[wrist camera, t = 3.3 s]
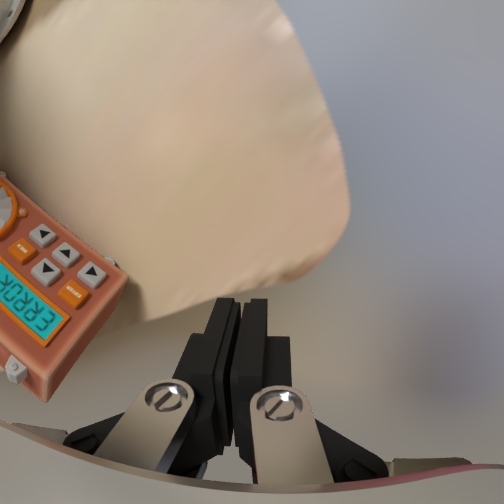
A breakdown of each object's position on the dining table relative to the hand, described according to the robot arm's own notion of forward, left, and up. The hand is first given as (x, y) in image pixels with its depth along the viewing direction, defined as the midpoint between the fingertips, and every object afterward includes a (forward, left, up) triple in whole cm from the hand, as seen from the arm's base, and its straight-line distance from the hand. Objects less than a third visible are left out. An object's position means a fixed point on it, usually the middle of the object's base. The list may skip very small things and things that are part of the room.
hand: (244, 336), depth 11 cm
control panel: (0, -21, -16) cm, 27 cm away
